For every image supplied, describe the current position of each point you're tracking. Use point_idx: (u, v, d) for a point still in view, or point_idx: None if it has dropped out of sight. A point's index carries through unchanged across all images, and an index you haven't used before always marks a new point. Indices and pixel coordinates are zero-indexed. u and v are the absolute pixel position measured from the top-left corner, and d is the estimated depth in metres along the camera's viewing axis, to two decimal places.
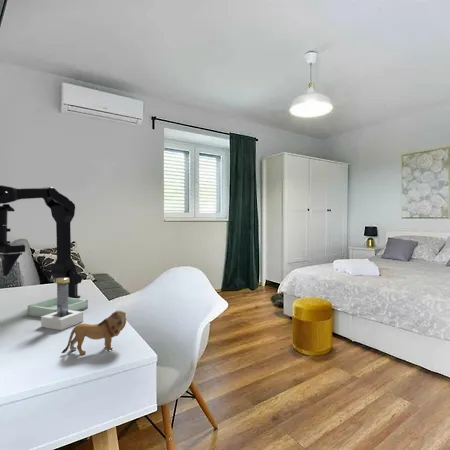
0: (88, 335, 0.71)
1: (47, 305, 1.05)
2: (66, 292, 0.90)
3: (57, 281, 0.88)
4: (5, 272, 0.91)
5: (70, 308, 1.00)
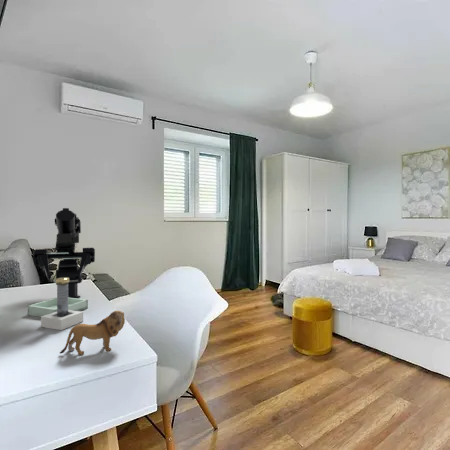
0: (86, 335, 0.71)
1: (47, 305, 1.05)
2: (66, 292, 0.90)
3: (57, 281, 0.88)
4: (81, 271, 1.00)
5: (70, 308, 1.00)
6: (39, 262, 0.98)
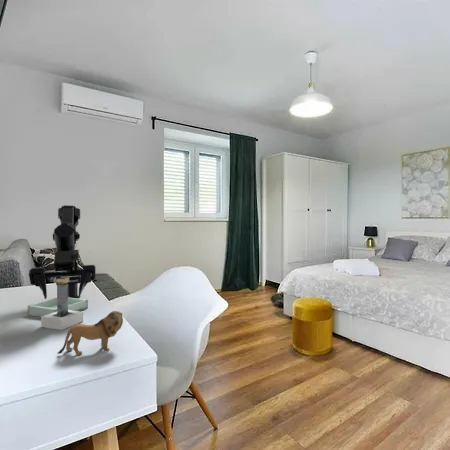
0: (84, 335, 0.71)
1: (47, 305, 1.05)
2: (66, 292, 0.90)
3: (57, 281, 0.88)
4: (81, 291, 0.93)
5: (70, 308, 1.00)
6: (36, 282, 0.92)
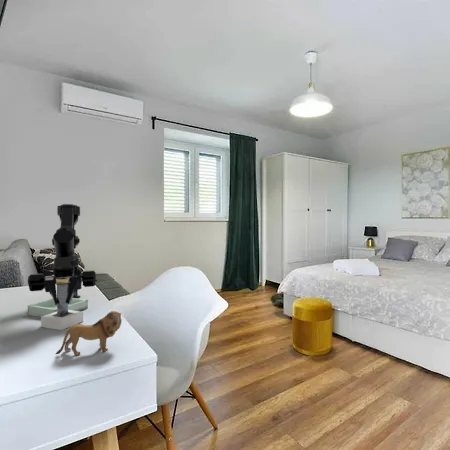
0: (83, 336, 0.70)
1: (47, 305, 1.05)
2: (66, 292, 0.90)
3: (57, 281, 0.88)
4: (70, 299, 0.90)
5: (70, 308, 1.00)
6: (46, 287, 0.91)
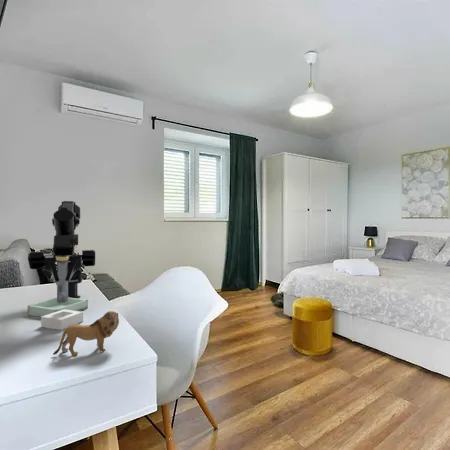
0: (80, 336, 0.70)
1: (47, 305, 1.05)
2: (66, 270, 0.90)
3: (57, 258, 0.89)
4: (70, 277, 0.91)
5: (70, 308, 1.00)
6: (46, 265, 0.92)
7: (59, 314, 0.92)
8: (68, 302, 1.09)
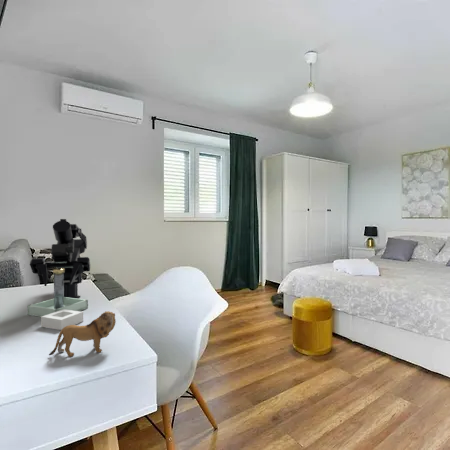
0: (76, 337, 0.70)
1: (47, 305, 1.05)
2: (61, 281, 1.02)
3: (53, 271, 1.01)
4: (72, 280, 1.03)
5: (70, 308, 1.00)
6: (39, 271, 1.04)
7: (59, 314, 0.92)
8: (68, 302, 1.09)
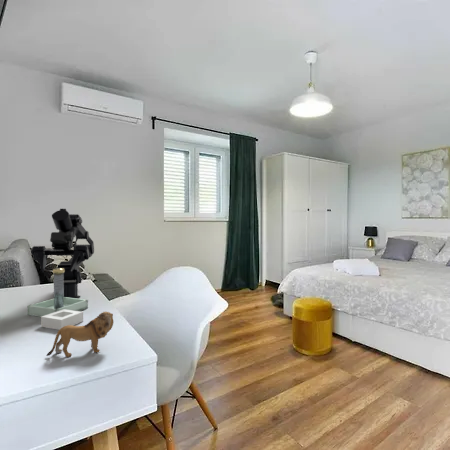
0: (74, 337, 0.70)
1: (47, 305, 1.05)
2: (61, 281, 1.02)
3: (53, 271, 1.01)
4: (72, 267, 1.06)
5: (70, 308, 1.00)
6: (37, 258, 1.08)
7: (59, 314, 0.92)
8: (68, 302, 1.09)
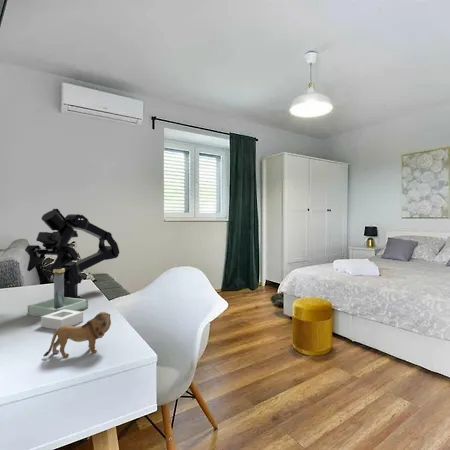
0: (71, 337, 0.70)
1: (47, 305, 1.05)
2: (61, 281, 1.02)
3: (54, 271, 1.01)
4: (53, 268, 1.05)
5: (70, 308, 1.00)
6: None
7: (59, 314, 0.92)
8: (68, 302, 1.09)
